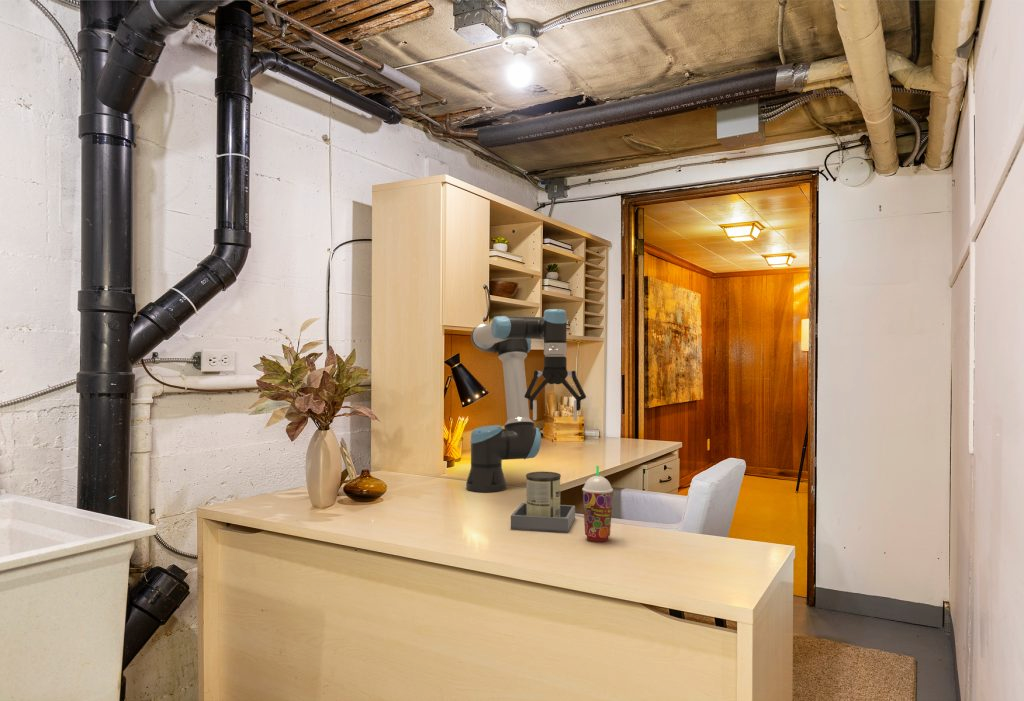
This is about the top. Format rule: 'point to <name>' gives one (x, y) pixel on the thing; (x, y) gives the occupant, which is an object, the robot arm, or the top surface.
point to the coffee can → (543, 494)
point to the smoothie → (597, 507)
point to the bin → (543, 520)
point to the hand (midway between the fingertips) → (555, 420)
